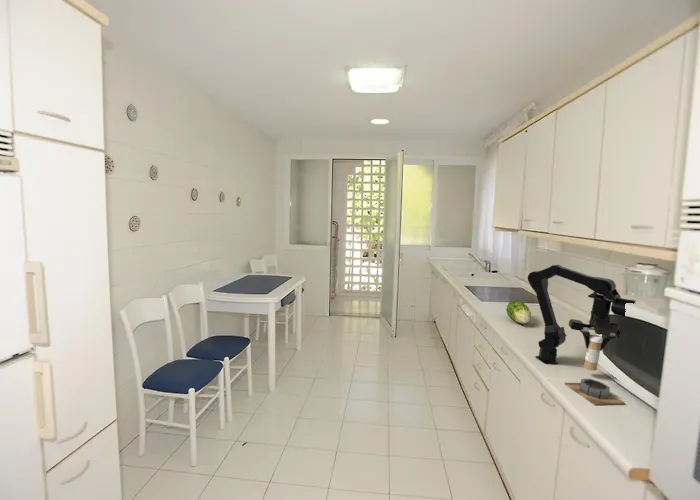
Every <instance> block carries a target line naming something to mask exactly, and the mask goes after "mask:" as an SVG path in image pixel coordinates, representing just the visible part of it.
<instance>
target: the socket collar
mask: <svg viewBox="0 0 700 500" xmlns="http://www.w3.org/2000/svg"><path fill="white" fill-rule="evenodd" d="M580 383H581V384H580V389H579V390H580V391H582V392H583V393H585V394H586V395H588V396H591V397H594V398H597V399H608V397H609V393H610V392H611V391H610V388H611V387H610V386H609V385H608V384H605V383H603V382H601V381H599V380H595V379H594V378H593V379H592V378H581V379H580Z"/></svg>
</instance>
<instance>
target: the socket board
mask: <svg viewBox="0 0 700 500" xmlns="http://www.w3.org/2000/svg"><path fill="white" fill-rule="evenodd" d="M580 384H581V382H564V386H566V387H568V388H569V389H570V390H572V391H573V392H575V393H576V394H577V395H579V396H581V397H582V398H583V399H585V400H586V401H588V402H589V403H590V404H592V405H593V406H621V405H622V406H623V405H624V406H625V405H626V402H625V401H622V399H619V398H618V397H616V396H615V395H613V394H612V393H610V392H609V397H608V399H597V398H594V397H591V396H588V395H586V394H585V393H583V392H582V391H580V390H579V389H580Z"/></svg>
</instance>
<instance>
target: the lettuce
mask: <svg viewBox="0 0 700 500" xmlns="http://www.w3.org/2000/svg"><path fill="white" fill-rule="evenodd" d="M506 314H507V316H508V317H509V318H510V319H511V320H513V321H514V322H515V323H517V324H528V322H529V321H530V320H531V318H532V312H531V311H530V308H529V306H527V305H526V303H525V302H524V301H522V300H518V299H514V300H511V301H510V302H508V304H507V305H506Z"/></svg>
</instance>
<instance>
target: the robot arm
mask: <svg viewBox="0 0 700 500" xmlns="http://www.w3.org/2000/svg"><path fill="white" fill-rule="evenodd" d="M555 276H558V277H561V278H564V279H566V280H568V281H572V282H575V283H577V284H581V285H583V286H585V287H587V288H588V289H589V290H591V291H593V292H592V293H590V294H589V295H587V297H588V298H591V299H593V301H592V307H591V310H590V318H589V320H588V323H584V322H583V321H582V320H581V319H580V320H579V319H573V318H570V320H569V321H568V326H569V328H570V329H571V330H574V331H579V332H580V333H581V334H582V336H583V341H584V345H585V348H586V349H587V348H588V346H589V336H590V335H591V332H590V330H591V331H594V333H595V335H598V336H601V337H602V338H603V340H602V344H601V348H600V352H602V351H603V350H604V348H605V346H606V345H607V344H608V342H609V341H611V340H612V339H613V340H615V339H616V338H620V337H619V334H620V332H619V330H618V327H619V324H618V323H616V322H615V323H614V322H611V321H610V312H611V313H613V315H615V316H619V317H623V318H626V317H625V312H626V311H625V310H626V309H625V304H626V303H633V304H634V303H635V304H636V300H634V299H627V298H623V297H621V295H620V294H619V292H618V289H617V286H616V283H615V281H614V280H612V279H610V278H606V277H605V278H604V277H600V276H592V275H587V274H586V273H583V272H580V271H576V270H573V269H571V268H567V267H564V266H562V265H560V264H555V265H551V266H548V267H547V268H544V269H542V270H535V271H531V272H529V274H528V275H527V280H528V281H527V282H528V284H529V285H530V287H531V289H533V291H534V292H535V294H536V298H537V301H538V305H539V309H540V312H541V316H542V319H543V323H544V333H543V334H544V339H541V340H539V341H538V344H537V345H538V347H539V351H538V355H535V358H536V359H537V360H539V361H540V362H542V363H543V364H548V365H551V364H552V365H554V364H557V365H558V364H559V362H558V361H557V355H558V354H557V353H558V349H557V348H558V347H560V346H561V345H562V344H564V343H565V342H566V338H567V334H566V331H565V327H564V326H560V325H559V324H558V322H557V319H556V315H555V312H554V307H553V306H552V302H551V299H550V298H551V297H550V295H549V292H548V291H549V290H548V289H549V288H548V287H549V279H551V278H553V277H555ZM615 333H616V334H615Z"/></svg>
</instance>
